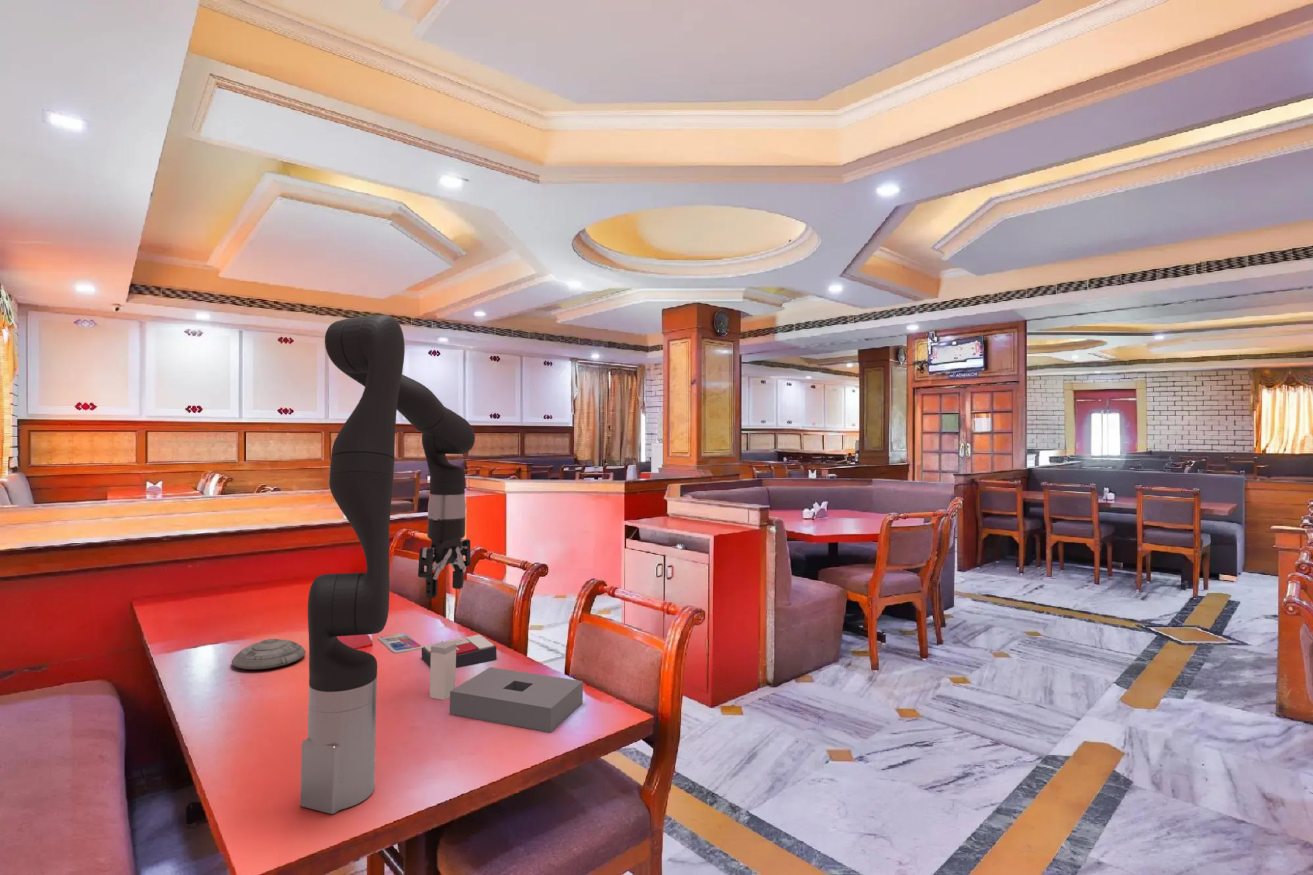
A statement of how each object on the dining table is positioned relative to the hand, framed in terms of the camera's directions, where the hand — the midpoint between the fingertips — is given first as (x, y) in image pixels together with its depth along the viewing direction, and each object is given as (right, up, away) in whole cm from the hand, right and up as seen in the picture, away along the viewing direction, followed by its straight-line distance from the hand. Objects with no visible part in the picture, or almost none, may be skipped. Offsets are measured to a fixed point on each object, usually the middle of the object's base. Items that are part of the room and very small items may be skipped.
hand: (445, 592), depth 132 cm
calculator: (-4, -22, +22) cm, 31 cm away
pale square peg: (-1, -22, 0) cm, 22 cm away
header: (+17, -22, -6) cm, 28 cm away
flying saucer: (-47, -21, +17) cm, 55 cm away
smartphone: (-23, -22, +32) cm, 45 cm away
